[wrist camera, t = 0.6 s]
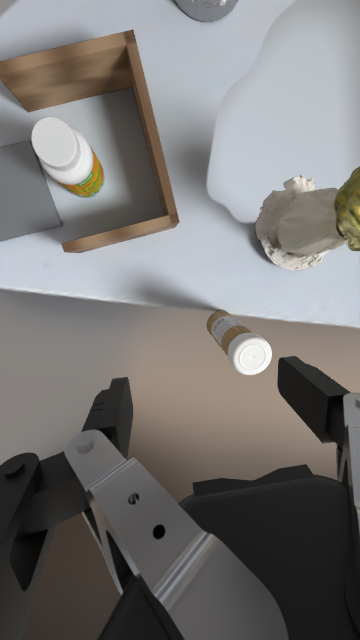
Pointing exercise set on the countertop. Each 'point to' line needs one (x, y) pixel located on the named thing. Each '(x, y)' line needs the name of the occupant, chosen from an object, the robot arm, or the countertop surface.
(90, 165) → the supplement bottle
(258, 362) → the sprinkles bottle
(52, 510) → the robot arm
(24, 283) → the countertop surface
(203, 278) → the countertop surface
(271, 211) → the yellow capped ghost figurine
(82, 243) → the open box
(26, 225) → the grey mat
